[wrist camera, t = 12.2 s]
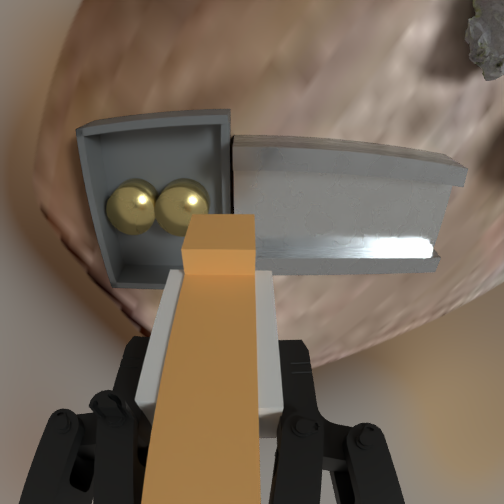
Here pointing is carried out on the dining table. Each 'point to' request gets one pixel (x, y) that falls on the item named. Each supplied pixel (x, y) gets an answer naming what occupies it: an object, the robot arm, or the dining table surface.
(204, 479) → the orange l-shaped bar
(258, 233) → the slot rail
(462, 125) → the dining table surface
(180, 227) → the gold domed disc
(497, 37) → the mineral specimen
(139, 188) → the gold domed disc
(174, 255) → the tray
